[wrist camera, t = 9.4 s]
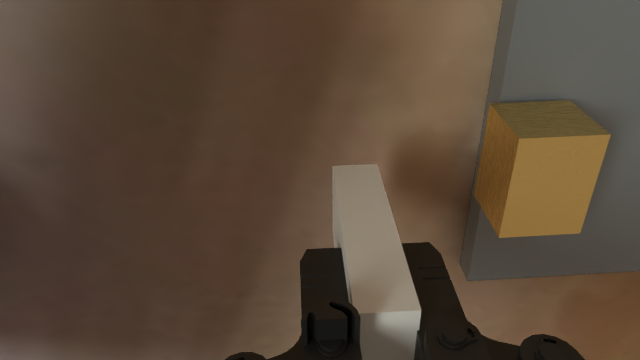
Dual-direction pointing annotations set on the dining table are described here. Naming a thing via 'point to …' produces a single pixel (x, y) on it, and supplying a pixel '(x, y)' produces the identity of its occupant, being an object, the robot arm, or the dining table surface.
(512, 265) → the board
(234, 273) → the dining table surface
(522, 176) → the tab
